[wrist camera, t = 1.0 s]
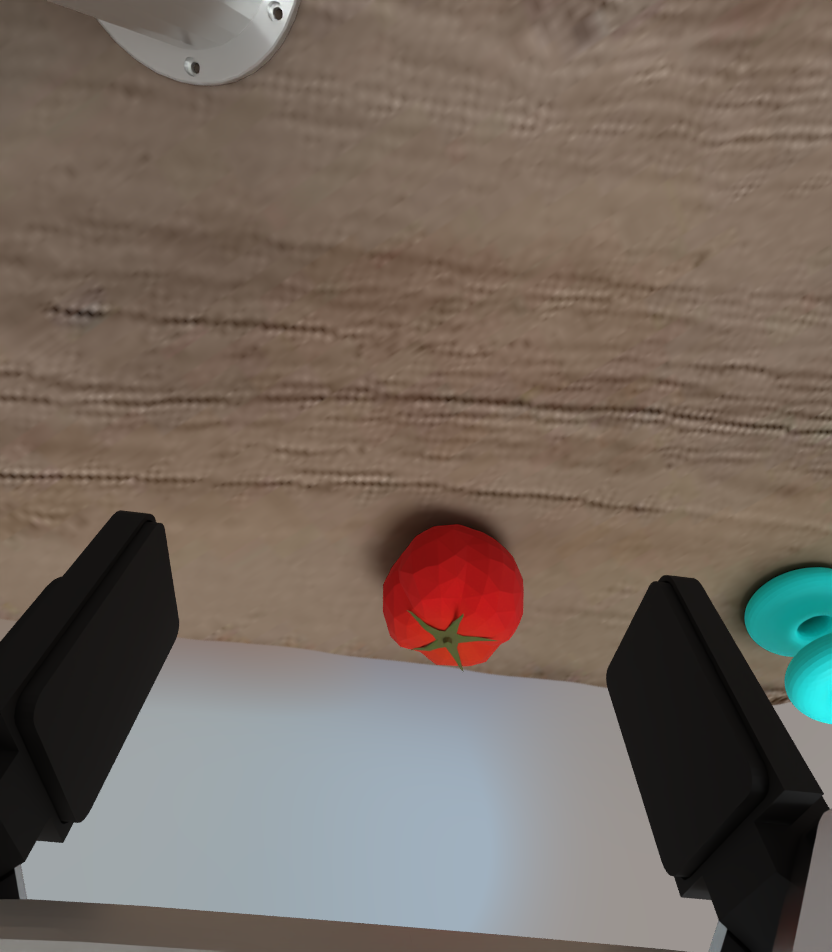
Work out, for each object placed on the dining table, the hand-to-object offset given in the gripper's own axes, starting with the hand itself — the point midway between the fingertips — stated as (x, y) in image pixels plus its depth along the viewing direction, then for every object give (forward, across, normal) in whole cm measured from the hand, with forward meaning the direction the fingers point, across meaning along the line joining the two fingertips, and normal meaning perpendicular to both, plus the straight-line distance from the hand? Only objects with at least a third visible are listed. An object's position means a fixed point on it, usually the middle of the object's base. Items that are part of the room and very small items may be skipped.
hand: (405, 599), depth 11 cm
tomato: (+30, -6, +25) cm, 39 cm away
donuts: (+30, -38, +25) cm, 54 cm away
